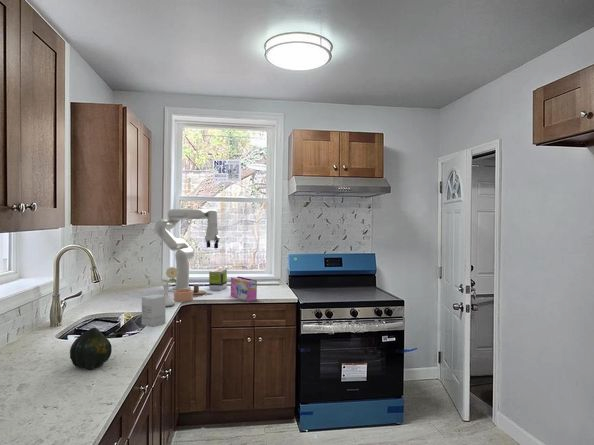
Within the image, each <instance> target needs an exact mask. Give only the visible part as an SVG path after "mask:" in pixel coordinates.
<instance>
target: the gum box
mask: <svg viewBox="0 0 594 445" xmlns="http://www.w3.org/2000/svg"><path fill="white" fill-rule="evenodd" d="M257 293H258V280H256V279H252V278H248V277H247V278H246V277H242V276H237V277H230V297H234V298H237V299H240V300H243V301H247V302H250V301H255V300H257V298H258V295H257Z"/></svg>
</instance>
